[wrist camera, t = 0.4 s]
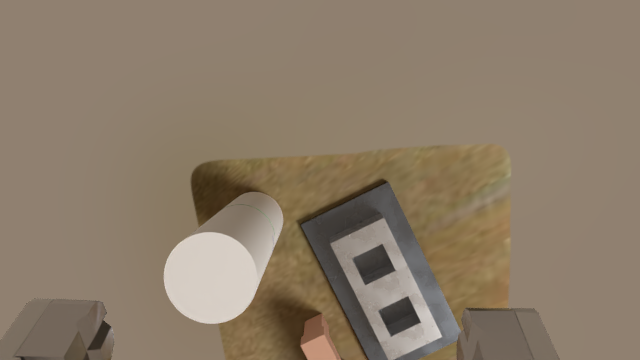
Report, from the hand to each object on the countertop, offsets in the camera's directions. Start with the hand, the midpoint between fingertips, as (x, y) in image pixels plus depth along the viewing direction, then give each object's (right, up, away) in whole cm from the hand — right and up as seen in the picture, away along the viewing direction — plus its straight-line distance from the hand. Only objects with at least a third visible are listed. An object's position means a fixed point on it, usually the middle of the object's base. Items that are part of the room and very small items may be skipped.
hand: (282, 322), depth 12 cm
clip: (+2, -18, +53) cm, 56 cm away
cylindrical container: (-7, -2, +52) cm, 53 cm away
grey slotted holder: (+9, -9, +53) cm, 54 cm away
